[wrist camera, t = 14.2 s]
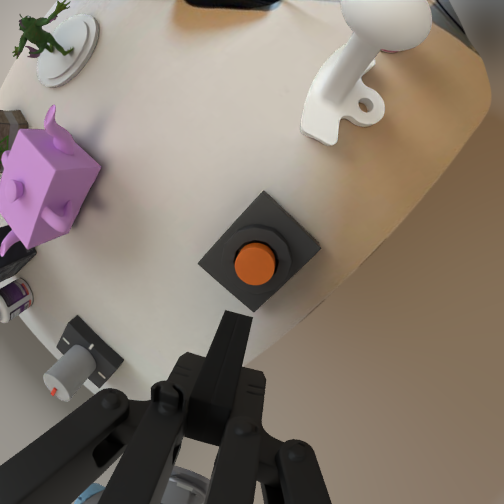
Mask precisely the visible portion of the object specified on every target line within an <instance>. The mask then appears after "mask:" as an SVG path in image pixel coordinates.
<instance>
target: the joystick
mask: <svg viewBox="0 0 504 504" xmlns="http://www.w3.org/2000/svg"><path fill="white" fill-rule="evenodd" d="M341 10H342V14H343V17H344V19H345V21H346V23H347V24H348V26H349V27H350V28H351V30H352V31H353V34H352V35H351V37H350V39H349V41H348V42H347V44H344V45H342V46H341V47H340V48H338V49H337V50H336V51H335V52H334V53H333V54H332V55H331V56H330V57H329V58H328V59H327V60H326V61H325V63H324V64H323V65H322V67H321V68H320V70H319V71H318V73H317V75H316V76H315V78H314V80H313V82H312V84H311V87H310V89H309V92H308V95H307V98H306V101H305V104H304V108H303V112H302V117H301V123H300V131H301V133H302V134H303V135H305V136H307V137H309V138H311V137H312V138H314V139H316V140H318V141H319V142H321V143H323V144H324V145H326V146H331V145H333V144H335V143H336V142H337V140H338V128H339V121H340V119H348V120H349V121H350V122H352V123H353V124H355V125H357V126H361V127H367V126H370V125H373V124H375V123H377V122H378V121H380V120H381V119H382V117H383V115H384V112H385V105H384V101H383V99H382V97H381V96H380V95H379V94H378V93H377V92H376V91H375V90H373V89H371V88H369V87H367V86H365V85H364V84H363V82H362V79H361V77H362V76H363V75H364V74H365V73H366V72H368V71H369V70H370V69H371V68H372V67H373V66H374V65H375V59H374V58H375V57H376V55H377V54H378V53H379V51H380V50H381V49H384V50H389V51H404V50H408V49H412V48H414V47H416V46H418V45H419V44H421V43H422V42H423V41H424V40H425V39H426V37H427V36H428V34H429V32H430V29H431V25H432V14H431V10H430V7H429V4H428V2H427V0H341ZM359 102H361V103H363V104H365V105H366V107H367V112H363V111H362V110H361V109H360V108H359V105H358V103H359Z"/></svg>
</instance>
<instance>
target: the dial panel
mask: <svg viewBox="0 0 504 504" xmlns="http://www.w3.org/2000/svg"><path fill="white" fill-rule="evenodd" d="M74 345H80V346H82V347H84V348H85V349H87V350H88V351H89V352H90V353H91V355H92V356H93V358H94V359H95V362H96V369H95V370H94V371H93V372H92V374H91V375H90V376H89V377H88V379H89V380H90V381H92V382H93V383H94V384H95V385H96V386H97V387H98V388H100V387H101V386H102V385H103V384H104V383H105V382H106V381H107V380H108V378H109V377H110V376H111V375H112V374H113V373H114V372H115V371H116V370H117V368H118V367H119V366H120V364H121V363H122V362H123V361H124V359H122V358H121V357H120V356H119V355H118V354H117V353H116V352H115V351H113V350H112V349H111V348H110V347H109V346H108V345H107V344H106V343H105V342H104V341H103V340H102V339H101V338H100V337H99V336H98V335H97V334H95V333H94V332H93V331H92V330H91V329H90V328H89V327H88V326H87V325H86V324H85V322H84V321H83V320H82V319H81V318H80V317H79V316H78V315H77V316H76V317H74V318H73V319H72V320H71V321H70V322H68V324H67V326H66V328H65V330H64V332H63V334H62V336H61V338H60V341H59V343H58V345H57V348H58V349H59V350H60V351H61V353H62V354H63V355H64V354H65V353H66V352H67V351H68V350H70V349H71V348H72V347H73V346H74Z"/></svg>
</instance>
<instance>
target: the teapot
mask: <svg viewBox="0 0 504 504" xmlns="http://www.w3.org/2000/svg"><path fill="white" fill-rule="evenodd" d="M55 110H56V107H55V105H52V106H51V107H50V109H49V110H48V112H47V114H46V117H45V120H44V127H45V130H44V129H19V131H18V133H17V136H16V138H15V140H14V143H13V146H12V148H11V151H10V150H7V151H5V152H4V153H3V154H2V158H1V161H2V165H3V167H4V171H3V174H2V177H1V181H0V213H1V215H2V216H3V217H4V219H5V220H6V222H7V223H8V225H9V226H10V227H11V229H12V230H11V231H10V232H9V233H8V235H7V236H6V237H5V238H4V240H3V241H2V243H1V247H0V255H1V257H3V256H4V255H5V253H6V251H7V250H8V249H9V247H10V246H12V245H13V244H14V243H16V242H18V241H21V242H22V243H23V244H24V246H25V247H26V248H27V249H31V248H33V247H35V246H38V245H40V244H42V243H45V242H47V241H50V240H52V239H55V238H57V237H60V236H62V235H65V234H67V233H69V231H70V229H71V227H72V224H73V222H74V220H75V218H76V216H77V215H78V214H79V210H80V207H81V205H82V203H83V201H84V199H85V197H86V195H87V193H88V191H89V189H90V187H91V186H92V184H93V183H94V182H95V180H96V178H97V174H98V173H99V171H100V169H101V166H100V165H99V164H98V163H97V162H96V161H95V160H94V159H93V158H92V157H91V156H89V155H88V154H87V153H86V152H85V151H84V150H83V149H82V148H81V147H80V146H79V145H78V144H77V143H76V142H74V140H73V137H72V135H71V134H70V133H69V132H68V131H67V130H66V129H64V128H63V127H61V126H59V125H58V124H57V123H56V121H55Z"/></svg>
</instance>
